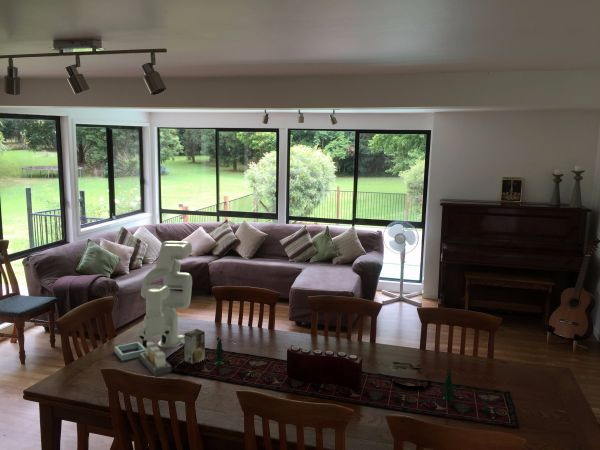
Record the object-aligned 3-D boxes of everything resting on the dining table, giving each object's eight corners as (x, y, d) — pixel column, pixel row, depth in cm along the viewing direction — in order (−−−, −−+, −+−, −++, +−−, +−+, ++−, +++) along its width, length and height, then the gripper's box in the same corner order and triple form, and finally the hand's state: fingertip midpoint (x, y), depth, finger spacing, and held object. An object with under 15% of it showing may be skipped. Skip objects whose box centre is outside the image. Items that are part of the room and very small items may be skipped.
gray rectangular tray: (154, 356, 271) (154, 349, 270) (171, 373, 252) (171, 366, 251) (139, 360, 266) (139, 353, 265) (154, 377, 247) (154, 369, 247)
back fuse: (152, 357, 268) (152, 341, 266) (154, 360, 264) (154, 343, 263) (144, 359, 265) (144, 342, 264) (147, 361, 262) (147, 345, 261)
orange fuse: (157, 362, 262) (157, 346, 260) (160, 365, 258) (159, 348, 257) (149, 364, 259) (149, 347, 258) (152, 367, 256) (152, 350, 255)
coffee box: (196, 356, 273) (196, 328, 270) (205, 360, 269) (205, 331, 266) (184, 362, 265) (183, 333, 263) (192, 365, 262) (192, 336, 259)
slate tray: (138, 348, 281) (138, 341, 280) (146, 356, 270) (146, 349, 270) (114, 353, 273) (114, 346, 273) (121, 362, 263) (121, 355, 262)
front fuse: (162, 368, 256) (162, 351, 254) (165, 371, 252) (165, 354, 251) (154, 369, 253) (154, 353, 252) (157, 372, 250) (157, 355, 249)
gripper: (167, 308, 262) (168, 339, 265) (134, 313, 252) (135, 346, 255) (173, 312, 256) (173, 344, 259) (139, 318, 246) (140, 351, 249)
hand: (154, 345), depth 257 cm, fingers open, 9 cm apart
